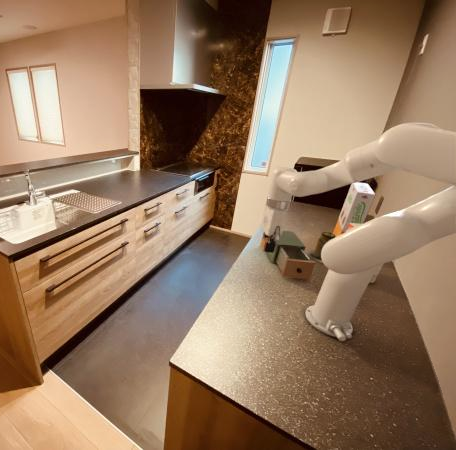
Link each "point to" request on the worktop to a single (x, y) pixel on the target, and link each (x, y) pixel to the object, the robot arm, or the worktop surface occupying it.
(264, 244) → the orange cube
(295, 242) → the green drawer chest
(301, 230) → the worktop surface
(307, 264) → the wooden drawer box
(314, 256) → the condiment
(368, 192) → the cereal box
